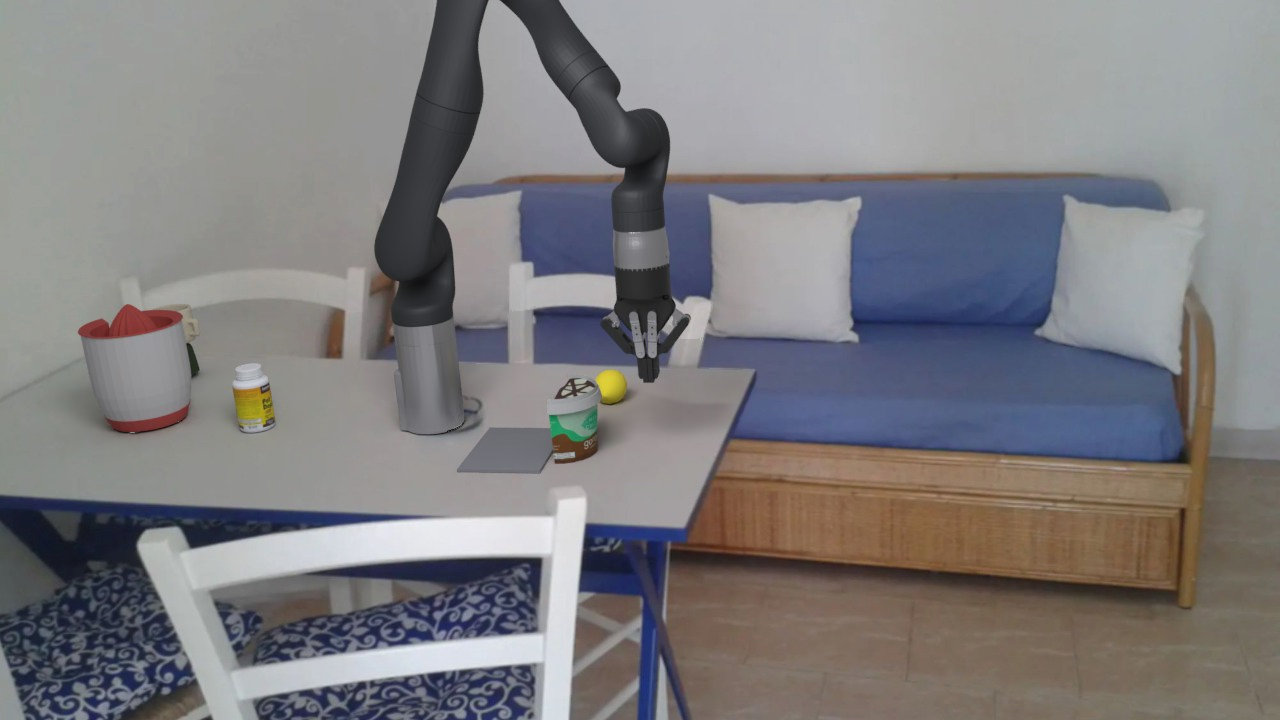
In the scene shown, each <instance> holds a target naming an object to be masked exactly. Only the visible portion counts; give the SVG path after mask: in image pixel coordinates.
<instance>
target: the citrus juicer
mask: <svg viewBox="0 0 1280 720" xmlns="http://www.w3.org/2000/svg"><path fill="white" fill-rule="evenodd" d="M182 319H183V315H182V314H181V313H179V312H176V311H171V310H152V309H148V310H146V309H145V310H140V309H138V308H137V307H135V306H133V304H129V303H126V304H125V305H123V306H122V307H121V309H120V310H119V311H118V312H117V314H116V315H115V317H114V319H113V320H112V322H111V324H109V322H108V321H107V320H105V319H103V318H98V319H95V320H93V321H90V322H87V323H85V324H83V325H82V326H81V327H79V329H78V331H77V334H78V335H79V336H80V339H81V343H82V348H83V349H82V350H83V354H84V357H85V358H84V359H85V363H86V368H87V373H88V376H89V381H90V385H91V389H92V392H93V395H94V396H95V397H94V398H95V399H96V401H97V403H98V407H99V408H100V409H101V411H102V413H103V415H104V418H105V419H106V421H107V423H108V424H109V425H110V426H111V428H112V429H113V430H116V431H118V432H123V433H124V432H126V433H129V432H138V433H140V432H139V431H141V432H147V431H154V430H157V429H161V428H164V427H168V426H171V425H173V424H177V423H176V422H178V421H180V422H181V420H182V421H183V420H184V419H185V418H186V417H187V415H188V412H189V410H190V405H191V394H192V376H191V369H190V362H189V356H188V351H187V346H186V340H185V335H184V330H183V324H182ZM178 423H179V422H178Z"/></svg>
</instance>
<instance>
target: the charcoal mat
mask: <svg viewBox="0 0 1280 720" xmlns="http://www.w3.org/2000/svg"><path fill="white" fill-rule="evenodd" d="M552 454H554V453H553V445H552V437H551V428H550V427H491V426H490V427H489V428H488V429H487V431H486V432H485V433H484V434H483V435H482V437H481V438H480V439H479V441H477V443H476V444H475V446H474V447H473V448H472V449H471V450H470V452H469V453H468V455H467V456H466V457H465V458H464V459H463V460H462V462H461V463H460V464H459V465H458V467H457V468H456V472H457V473H499V474H500V473H506V474H507V473H508V474H509V473H510V474H513V473H514V474H541V472H542V471H543V469H544V467H545V466H546V465H547V462H549V459H550V457H551V456H552Z"/></svg>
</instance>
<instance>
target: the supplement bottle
mask: <svg viewBox="0 0 1280 720" xmlns="http://www.w3.org/2000/svg"><path fill="white" fill-rule="evenodd" d="M234 372H235V377H236V378H235V379H234V380H233V381H232V383H231V385H232V386H231V387H232V393H233V397H234V403H235V410H236V415H237V416H236V417H237V423H238V428H239V430H240V431H242V432H244V433H247V434H252V433H253V434H254V433H255V434H256V433H261V432H265V431H268V430H270V429H273V427H274V426H275V425H276V417H275V416H276V415H275V412H274V411H275V410H274V405H273V397H272V392H271V386H270V379H269V377H268V376H267V375H265V374H264V372H263V369H262V364H260V363H257V362H255V363H254V362H253V363H245V364H242V365H239V366H237V367H235V369H234Z"/></svg>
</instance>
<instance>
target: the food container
mask: <svg viewBox="0 0 1280 720" xmlns="http://www.w3.org/2000/svg"><path fill="white" fill-rule="evenodd" d="M595 379H596V378H593V377H592V376H589V375H584V374H580V373H570V372H569V373H567V382H566V383H565V384H564V385H563V386H562V387H560V388H559V390H558V391H557V393H556V395H555V396H554V398H553V399H552V398H551V399H550V398H549V399H547V400H546V402H547V404H546V415H548V419H549V428H551V437H552V445H553V453H552V454H553V459H554V461H553V462H554V464H555V465H557V464H558V465H563V464H572V463H576V462H577V463H578V462H581V461H585V460H587V459H589V458H591V457H593V456H595V454H596V453H597V452H598V403H600V402H601V399H602V394H601V391H600V388H599V385H598V384H597V382H596V380H595Z"/></svg>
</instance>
